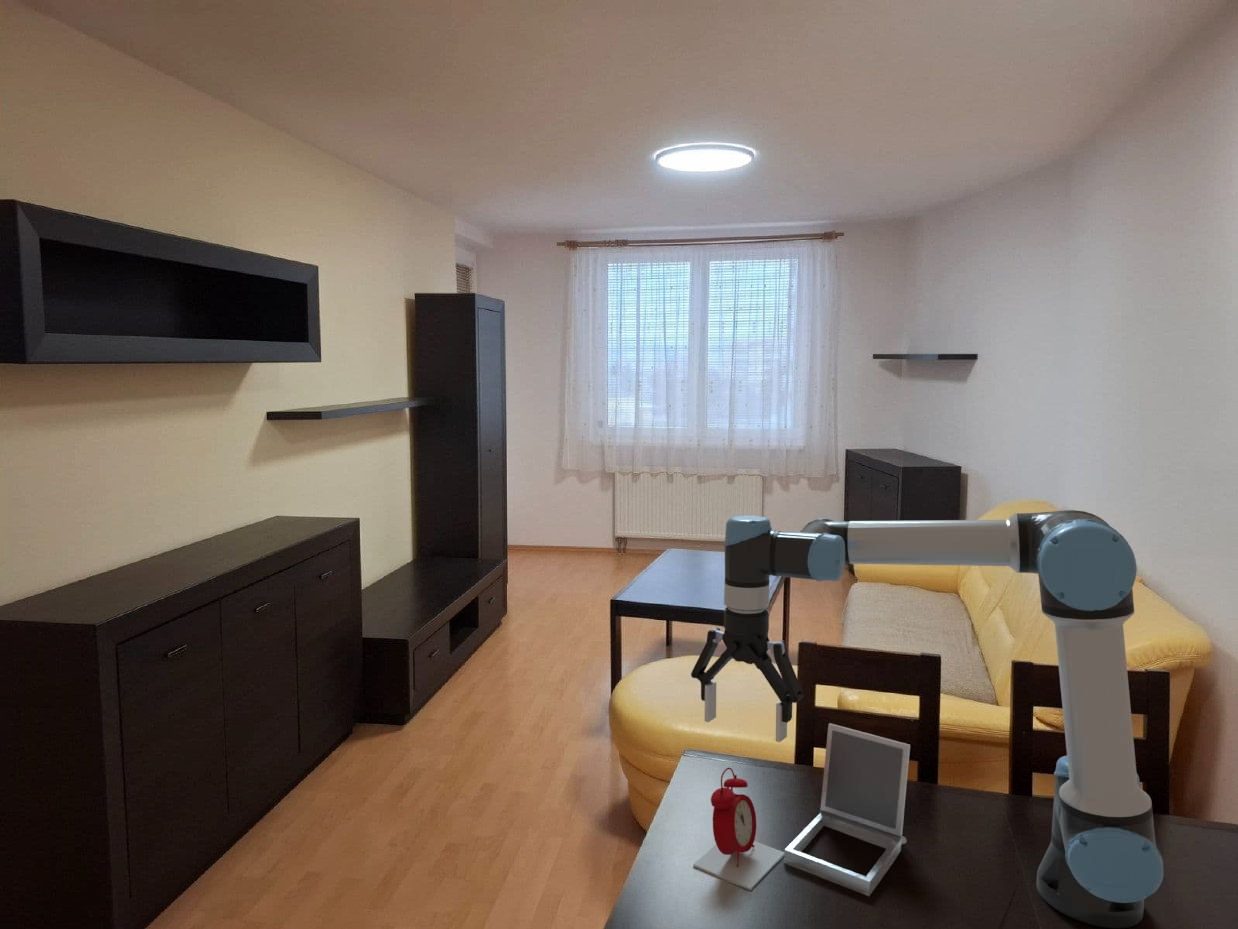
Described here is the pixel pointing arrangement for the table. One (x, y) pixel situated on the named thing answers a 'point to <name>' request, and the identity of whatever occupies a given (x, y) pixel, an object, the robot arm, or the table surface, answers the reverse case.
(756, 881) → the mat
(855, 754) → the lid
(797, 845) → the case
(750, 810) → the alarm clock
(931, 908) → the table surface
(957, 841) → the table surface
